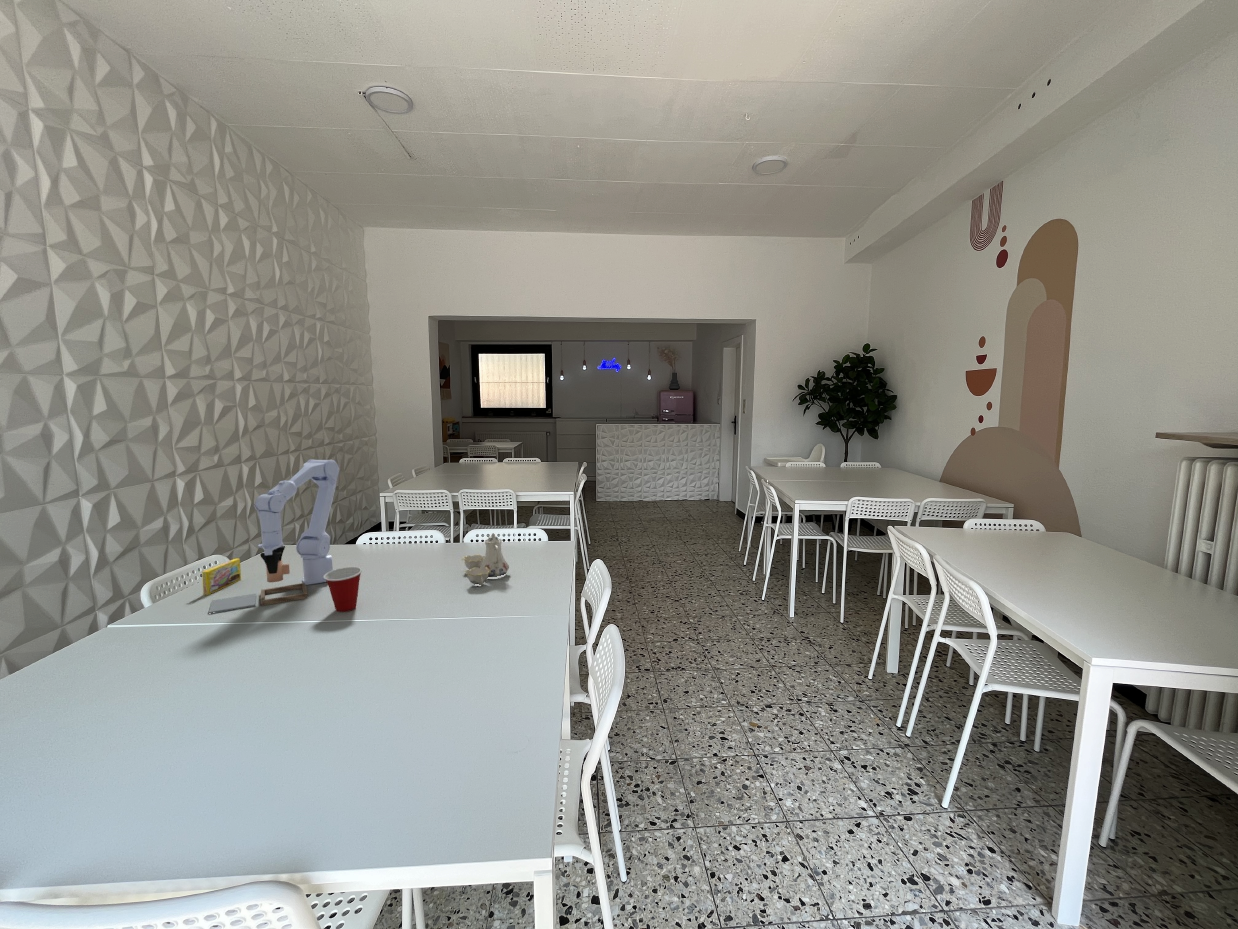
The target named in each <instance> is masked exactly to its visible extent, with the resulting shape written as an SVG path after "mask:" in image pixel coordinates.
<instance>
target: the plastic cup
mask: <svg viewBox="0 0 1238 929" xmlns="http://www.w3.org/2000/svg"><path fill="white" fill-rule="evenodd" d="M362 572H363V571H362V568H361V567H359V566H345V567H340V568H336V569H333V570H332V571H330V572H328V573H326V574H325V575H324V579H325V580H326V581H327V582H326V583H327V586H328V589H329V592H330V595H331V599H332V602H333V605H334V609H335V611H336V612H338V613H344V612H345V613H346V612H350V611H353V610H356V607H357V604H358V603H357V602H358V597H359V590H360V589H359V588H360V580H361V575H362V574H361V573H362Z"/></svg>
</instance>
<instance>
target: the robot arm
mask: <svg viewBox="0 0 1238 929" xmlns="http://www.w3.org/2000/svg"><path fill="white" fill-rule="evenodd" d="M340 471H341V470H340V467H339V465H338V462H337V461H336V460H334V459H313V458H311V459H308V460H307V461H306V462H305V463H303V465H302V468H301V469H300V470H298V472H297V473H295V475H293V476H292V477H291V478H290V479H289V480H280V481H278V484H277V485H276V486H275V487H273V488H272V489H270V490H268V491H267V493H265V494H260V495H259V496H258V497H256V499H255V502H254V504H253V506H254V508H255V510H256V511H257V515H258V517H259V521H260V532H261V543H260V544H258V545H257V548H258V549H259V548H261V549H263V551H264V552H261V553H260V558H261V559H262V560H263V562H264V564H265V567H266V566H267V569H268V572H269V574H274V573H277V570H278V561H282V559H283V558H282V557H283V554H284V551H285V549H286V546H285V545H284V542H283V532H282V531H283V530H282V520H281V519H282V517H281V511H282V510H283V509H284V507H285V504H287V501H289V500H290V499H291V498H293V497H294V495H296V494H297V492H298V488H299V487H300V486H302V485H304V484H305V483H306V482H308V481H309V480H312V481H313V483H315V484H316V485H317V486H318V490H317V493H316V498H315V500H314V501H315V502H314V505H313V509H312V512H311V518H310V521H309V526H308V529H306V530H305V531H303V532H302V533H300V534H301V535H300V538H299V539H298V541H297V543H296V547H295V550H296V553H297V554H298V556H299V555H300V558H301V559H302V571H303V577H302V583H305V585H306V586H309V585H315V584H321V583H327V581H326V580H325V579H324V575H325V574H326V573H328V572H330V571H332V570H334V569H333V559H332V555H331V554H329V552H330V549H331V544H330V543H331V536H330V535H329V534H328V533H327V532H326V528H327V525H328V520H329V517H330V512H331V508H332V504H333V500H334V496H335V492H336V488H337V481H338V478H339V473H340Z"/></svg>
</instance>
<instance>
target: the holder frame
mask: <svg viewBox="0 0 1238 929" xmlns="http://www.w3.org/2000/svg"><path fill="white" fill-rule="evenodd" d="M299 589H302V593H298V594H290V595H283V596H280V597H273V598H268V599H266V595H268V594H269V595H270V594H277V593H280V592H287V591H293V590H299ZM304 599H308V591H307V585H305V583H303V582H302V583H295V584H289V585H282V586H275V587H269V588H263V589H261V590H260V606H267V605H274V604H280V603H285V602H291V601H292V602H293V601H298V600H304Z"/></svg>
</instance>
